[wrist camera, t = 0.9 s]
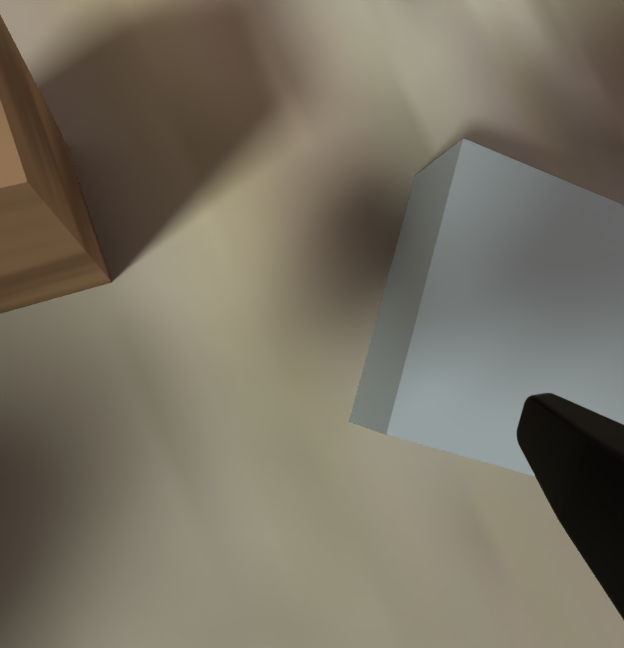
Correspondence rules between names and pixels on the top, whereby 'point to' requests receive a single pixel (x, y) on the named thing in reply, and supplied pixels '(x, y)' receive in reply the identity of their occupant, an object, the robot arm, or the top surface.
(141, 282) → the top surface
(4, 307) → the walnut block
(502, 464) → the base block
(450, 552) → the top surface
